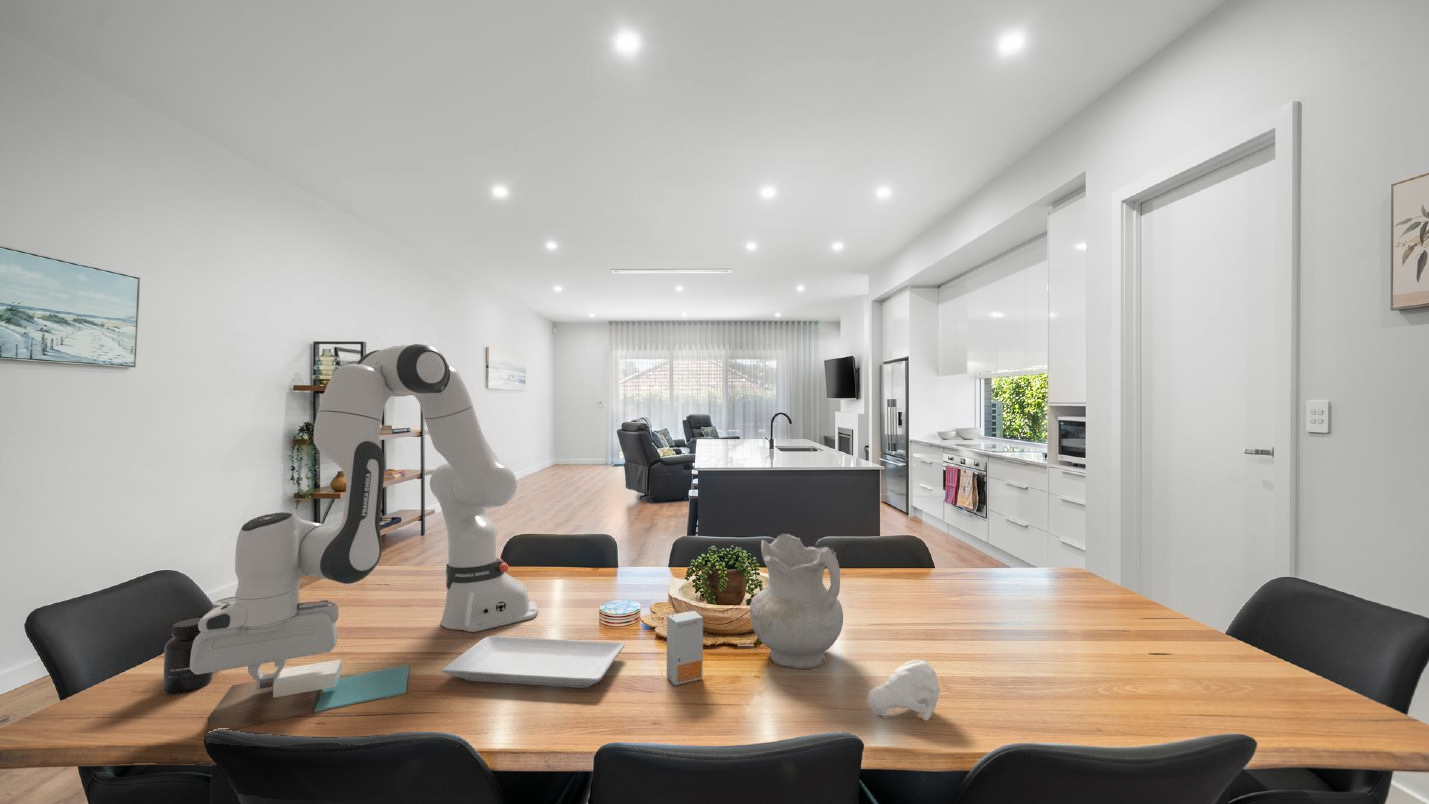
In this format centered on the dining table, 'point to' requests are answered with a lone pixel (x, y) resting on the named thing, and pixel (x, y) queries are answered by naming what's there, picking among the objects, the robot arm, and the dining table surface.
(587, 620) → the dining table surface
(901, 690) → the white animal skull
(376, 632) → the dining table surface
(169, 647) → the supplement bottle
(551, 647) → the tray
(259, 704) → the block
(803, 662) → the ceramic pitcher
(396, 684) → the teal mat
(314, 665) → the white flat block
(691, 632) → the skincare box
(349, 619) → the dining table surface
